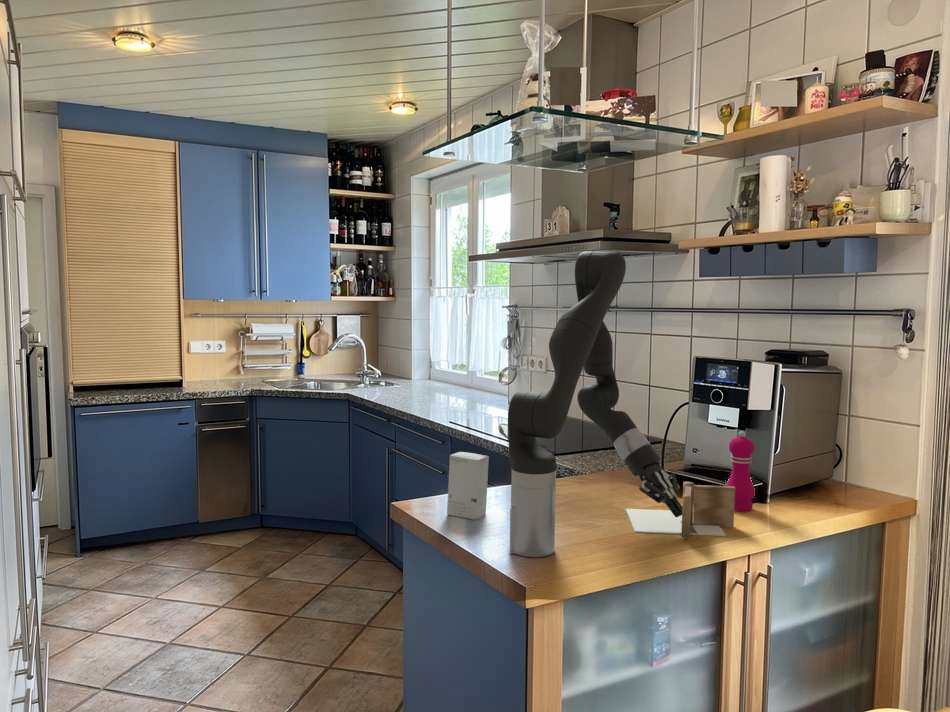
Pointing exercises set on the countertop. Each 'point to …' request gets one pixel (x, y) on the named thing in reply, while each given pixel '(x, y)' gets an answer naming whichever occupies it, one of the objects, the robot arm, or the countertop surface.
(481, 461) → the skincare box
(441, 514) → the countertop surface
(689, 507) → the swing panel
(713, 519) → the fixed fence
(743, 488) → the pepper mill
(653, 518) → the card
